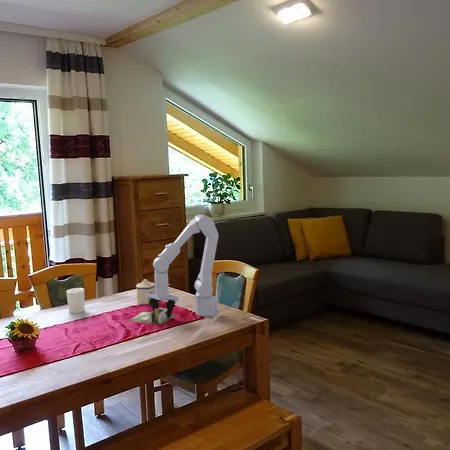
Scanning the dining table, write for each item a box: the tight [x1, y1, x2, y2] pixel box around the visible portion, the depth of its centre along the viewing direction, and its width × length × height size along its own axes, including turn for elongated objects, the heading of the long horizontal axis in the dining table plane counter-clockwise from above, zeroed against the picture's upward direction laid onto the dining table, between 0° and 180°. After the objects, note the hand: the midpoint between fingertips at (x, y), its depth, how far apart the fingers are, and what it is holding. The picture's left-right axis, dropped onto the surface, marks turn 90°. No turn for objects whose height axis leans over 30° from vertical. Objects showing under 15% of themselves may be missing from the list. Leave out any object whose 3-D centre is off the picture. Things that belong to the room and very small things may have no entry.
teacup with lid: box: [135, 279, 155, 306], centre depth 237 cm, size 12×9×12 cm
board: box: [128, 307, 176, 325], centre depth 211 cm, size 16×13×6 cm
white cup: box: [66, 287, 86, 314], centre depth 226 cm, size 8×8×10 cm
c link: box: [148, 307, 169, 325], centre depth 208 cm, size 8×6×4 cm
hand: (163, 316), depth 211 cm, fingers closed on c link, 6 cm apart
